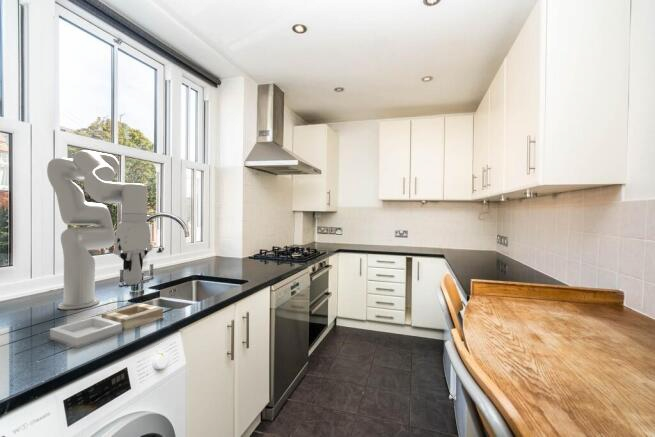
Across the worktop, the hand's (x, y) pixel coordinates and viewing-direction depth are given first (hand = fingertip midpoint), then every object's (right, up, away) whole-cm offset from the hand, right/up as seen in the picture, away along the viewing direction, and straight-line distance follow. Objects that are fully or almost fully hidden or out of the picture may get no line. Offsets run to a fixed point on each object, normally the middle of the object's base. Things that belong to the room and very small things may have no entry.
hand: (133, 269), depth 101 cm
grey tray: (-6, -18, -13) cm, 23 cm away
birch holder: (0, -18, 0) cm, 18 cm away
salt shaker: (0, -5, 0) cm, 5 cm away
